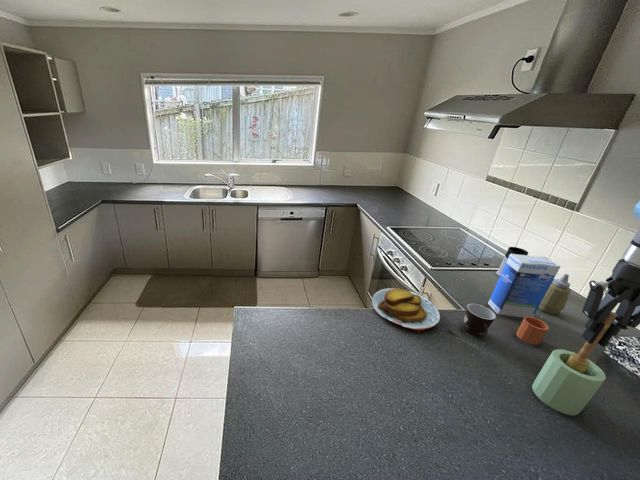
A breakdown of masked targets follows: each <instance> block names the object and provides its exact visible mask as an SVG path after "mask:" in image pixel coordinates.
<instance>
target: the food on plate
mask: <svg viewBox="0 0 640 480" xmlns="http://www.w3.org/2000/svg"><path fill="white" fill-rule="evenodd" d="M371 304H372V307H373V308H374V311H375V312H377V314H378V315H379V316H380V317H382V318H383V319H384V318H385V319H386V320H388V321H390V322H392V323H395V324H397V325H400V326H402V327H404V328H406V329H411V330H412V331H416V332H417V333H421V331H425V330H427V329H431V328H433V327H435V326H437V325H438V324H439V322H440V319H441V313H440V311H439V309H438V308H437V306H436V305H435V304H434V303H433V302H432V301H430V300H429V299H428V298H425V297H424V296H422V295H421V294H419V293H417V292H414V291H410V290H407V289H403V288H396V287H386V288H381V289H380V290H378V291H376V292H374V294H373V295H372V298H371ZM392 327H393V328H395V325H393V326H392Z"/></svg>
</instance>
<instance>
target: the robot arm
mask: <svg viewBox="0 0 640 480" xmlns="http://www.w3.org/2000/svg"><path fill="white" fill-rule="evenodd" d="M633 214H634V217H635V218H637V219H638V220H640V200H639V201H638V202H637V203H636V204H635V206H634V208H633ZM588 284H589V288H590V289H589V292H588V294H587V296H586V300H585V302H584V305H583V308H582V310H581V312H582V313H583V314H584V315H585V316H586V317H587V318H588V320H587V321H586V323H585V324H584V328H585V330H584V332H582V334H581V337H582V338H583V339H584V340H585V342H586V341H587V342H588V343H591V344H592V343H593V342H594V340H595V339H596V338H597V336H598V335H599V333H600V332H601V330H602V329H603V327H604V326H605V324H604V323H603V321H604V319H605V318H606V317H607V316H608V315H609V314H610V312H613V310H615V308H616V307H617V308H616V310H615V312H614V313H615V314H617V317H616V318H615V320H614V321H613V322H612V324H611V325H610V327H609V328H608V330H607V331H606V333H605V334H604V335H603V337H602V338H601V340H600V341H599V343H598V345H599V346H601V347H603V348H605V347H606V346H607V344H608V343H609V342H610V341H611V340H612V339H611V337H612V336H614V337H616V336H618V334H619V333H620V332H621V330H625V331H626V330H629V328H628V327H630V328H635V329H636V328H637V327H638V326H640V227H639V228H638V229H637V231H636V233H635V234H634V236H633V238H632V239H631V241H630V242H629V244H628V245H627V247H626V249H625V250H624V252H623V253H622V255H621V258H620V259H618V260H617V262H616V264H615V266H614V267H613V269H612V271H611V275H610V276H609V277H607V278H606V279H605V281H595V280H590V281H589V283H588ZM610 339H611V340H610ZM609 340H610V341H609ZM608 341H609V342H608Z"/></svg>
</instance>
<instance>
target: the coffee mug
mask: <svg viewBox="0 0 640 480" xmlns="http://www.w3.org/2000/svg"><path fill="white" fill-rule="evenodd" d="M496 318H497V316H496V314H495V311H494V310H493V311H492V309H490V308H488V307H486V306H484V305H481V304H477V303H468V304H467V305H466V309H465V313H464V318H463V322H462V327H461V328H462V330H463V331H464V332H465V333H467V334H468V335H470V336H473V337H475V338H481V337H483V336H485V335H487V334H488V330H489V328H490V326H491V325H492V323H493V322H494V321H495V319H496Z"/></svg>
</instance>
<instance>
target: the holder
mask: <svg viewBox="0 0 640 480" xmlns="http://www.w3.org/2000/svg"><path fill="white" fill-rule="evenodd" d="M510 254H518V255H528V256H529V252H528V251H527V250H526V249H525V248H524V249H523V248H520V247H516V246H509V247H508V248H507V251H506V253H505V254H504V256H503V258H502V261H501V262H500V265H499V268H498V270H497V271H495V274H496V275H497V276H499V277H500V276H501V273H502V271H503V269H504V267H505V264H506V262H507V260H508V258H509V255H510Z"/></svg>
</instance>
